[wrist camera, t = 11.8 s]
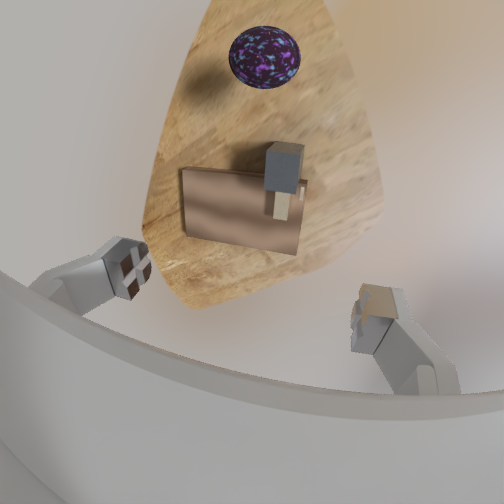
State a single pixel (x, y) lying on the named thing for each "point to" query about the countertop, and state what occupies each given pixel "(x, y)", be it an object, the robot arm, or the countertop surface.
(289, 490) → the robot arm
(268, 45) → the lollipop
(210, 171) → the board
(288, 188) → the upright grey metal block
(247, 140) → the countertop surface
